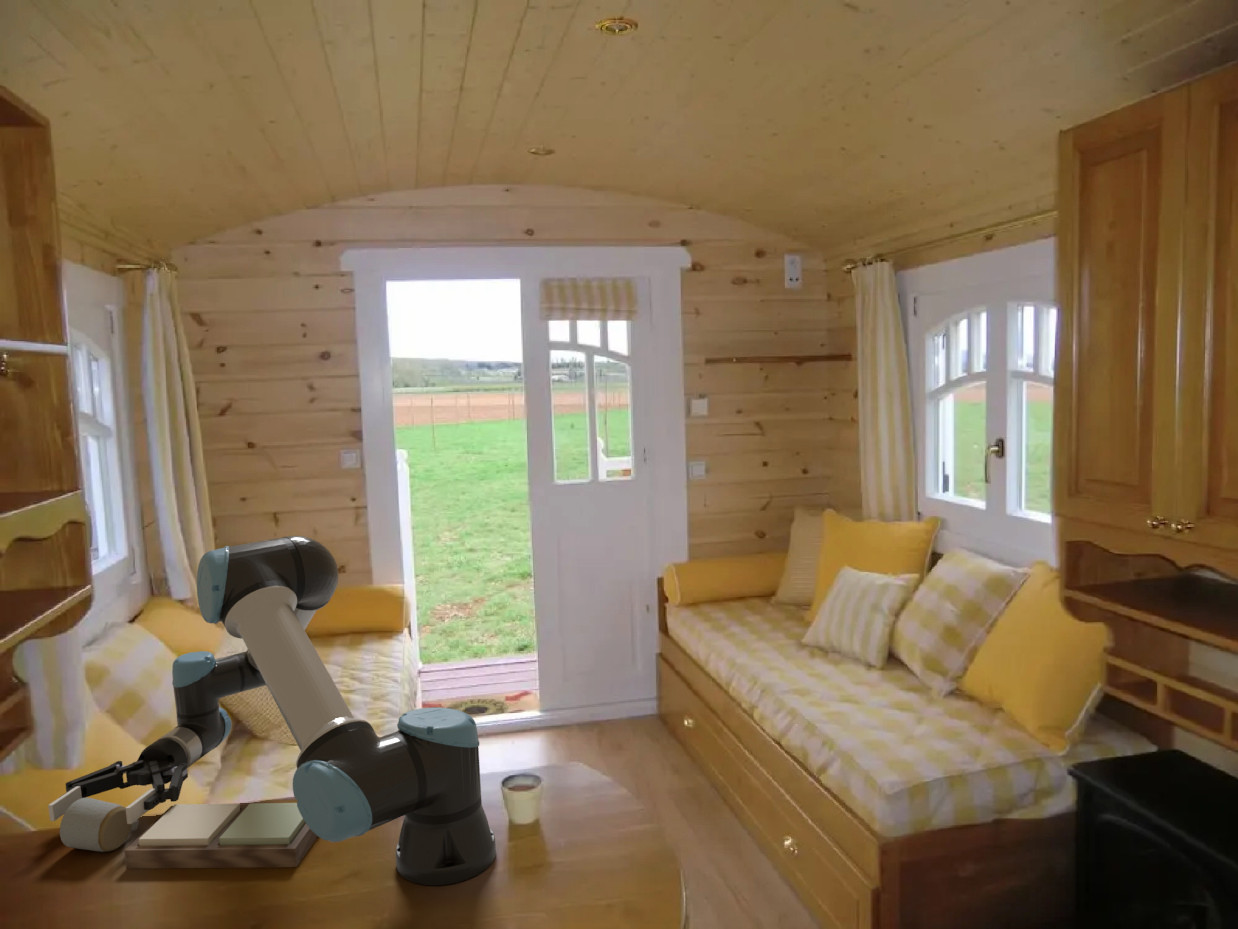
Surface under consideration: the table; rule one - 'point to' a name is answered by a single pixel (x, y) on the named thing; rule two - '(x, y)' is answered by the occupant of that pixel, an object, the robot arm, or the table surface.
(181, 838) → the cream key
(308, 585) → the robot arm
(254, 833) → the sage key
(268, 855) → the key pad frame
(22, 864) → the table surface
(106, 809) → the ceramic mug
